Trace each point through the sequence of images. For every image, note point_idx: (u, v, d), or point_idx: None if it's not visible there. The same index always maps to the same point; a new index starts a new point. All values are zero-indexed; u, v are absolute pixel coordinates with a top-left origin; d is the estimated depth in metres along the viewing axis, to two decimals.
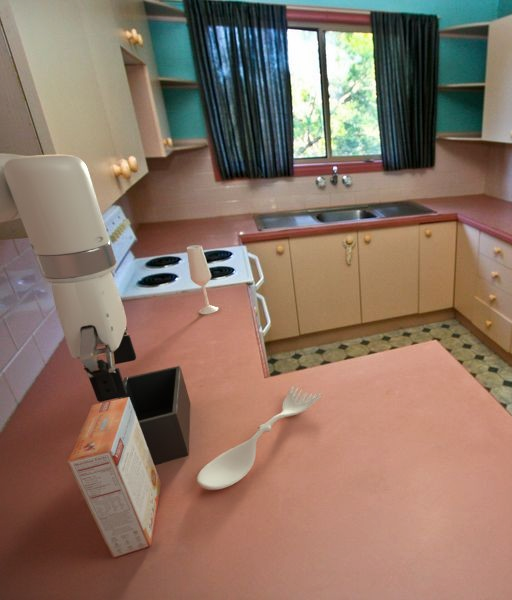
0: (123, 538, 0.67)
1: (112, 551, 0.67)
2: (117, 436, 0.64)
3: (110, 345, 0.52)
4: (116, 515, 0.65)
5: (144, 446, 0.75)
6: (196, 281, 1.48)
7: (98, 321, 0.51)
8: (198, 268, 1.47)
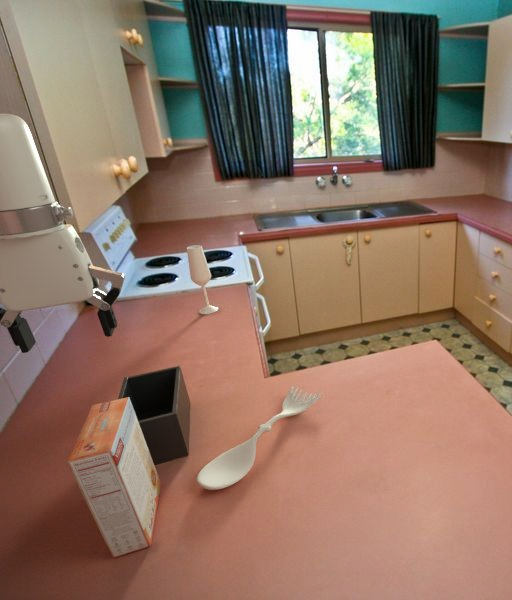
0: (123, 538, 0.67)
1: (112, 551, 0.67)
2: (117, 436, 0.64)
3: (2, 303, 0.54)
4: (116, 515, 0.65)
5: (144, 446, 0.75)
6: (196, 281, 1.48)
7: None
8: (198, 268, 1.47)
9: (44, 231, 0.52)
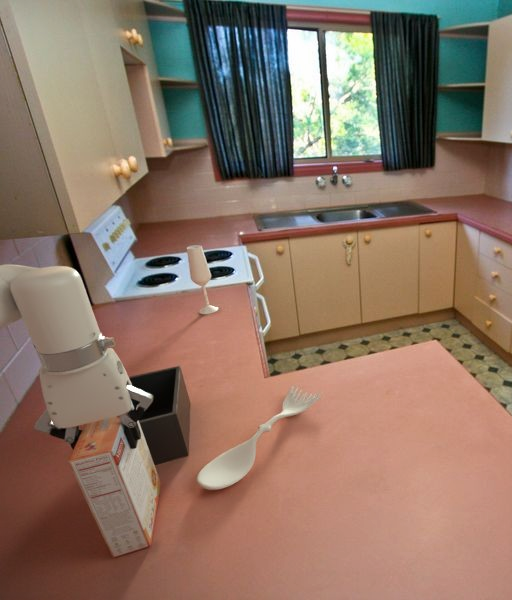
0: (123, 538, 0.67)
1: (112, 551, 0.67)
2: (118, 436, 0.64)
3: (53, 423, 0.62)
4: (116, 515, 0.65)
5: (144, 446, 0.75)
6: (196, 281, 1.48)
7: None
8: (198, 268, 1.47)
9: (92, 364, 0.60)
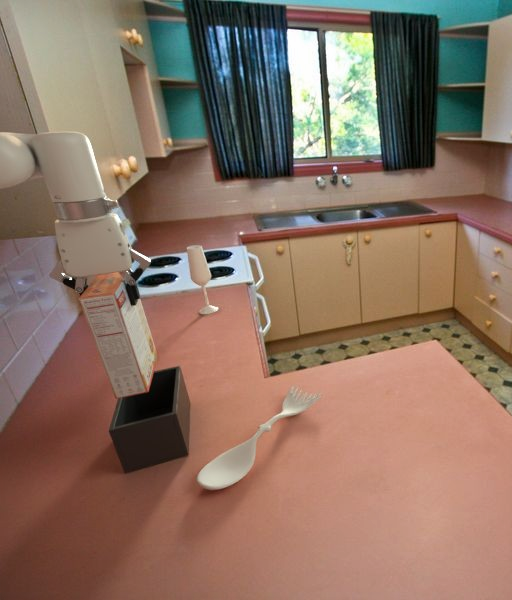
0: (124, 380, 0.78)
1: (115, 392, 0.78)
2: (120, 287, 0.75)
3: None
4: (118, 356, 0.76)
5: (143, 315, 0.86)
6: (196, 281, 1.48)
7: (59, 251, 0.72)
8: (198, 268, 1.47)
9: (99, 217, 0.71)
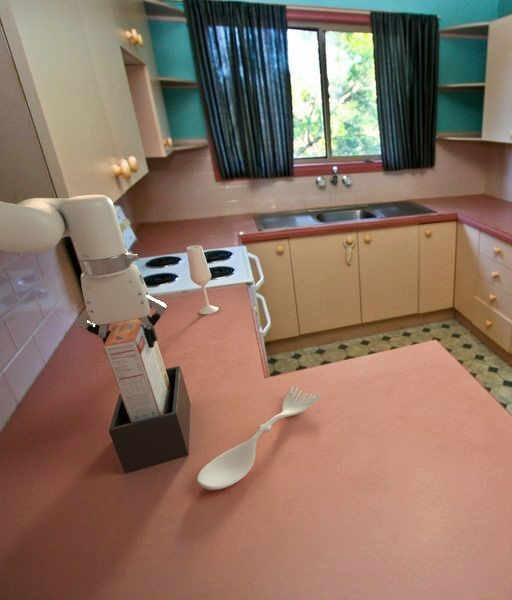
0: (143, 417, 0.85)
1: None
2: (140, 333, 0.82)
3: (90, 319, 0.79)
4: (138, 396, 0.83)
5: (159, 353, 0.93)
6: (196, 281, 1.48)
7: (85, 302, 0.78)
8: (198, 268, 1.47)
9: (121, 271, 0.78)
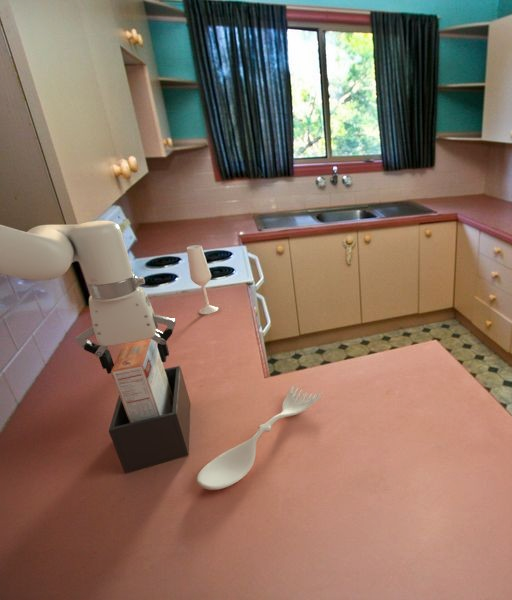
0: None
1: None
2: (146, 357, 0.84)
3: (97, 341, 0.81)
4: (145, 418, 0.85)
5: (164, 374, 0.95)
6: (196, 281, 1.48)
7: None
8: (198, 268, 1.47)
9: (128, 295, 0.80)
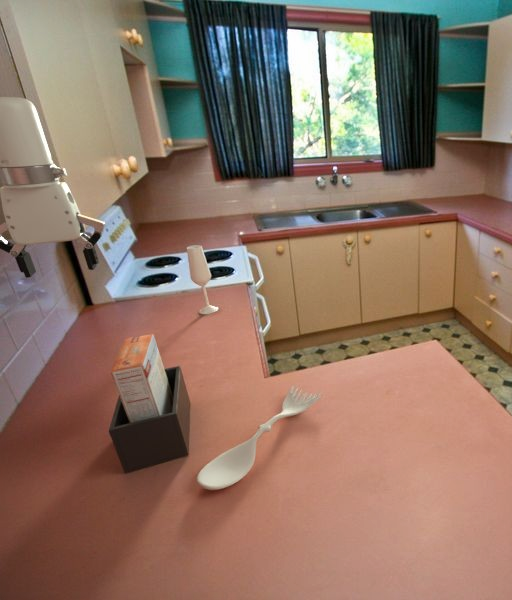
0: None
1: None
2: (146, 357, 0.84)
3: None
4: (145, 418, 0.85)
5: (164, 374, 0.95)
6: (196, 281, 1.48)
7: None
8: (198, 268, 1.47)
9: (44, 184, 0.71)
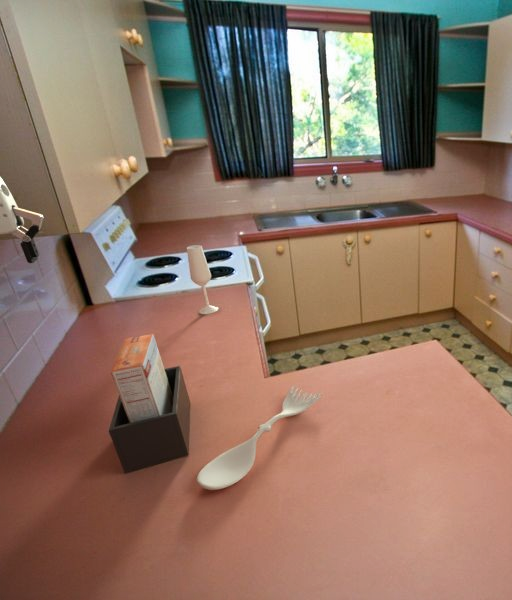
0: None
1: None
2: (146, 357, 0.84)
3: None
4: (145, 418, 0.85)
5: (164, 374, 0.95)
6: (196, 281, 1.48)
7: None
8: (198, 268, 1.47)
9: None
